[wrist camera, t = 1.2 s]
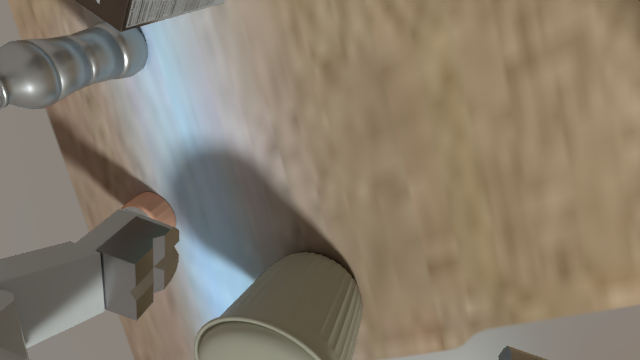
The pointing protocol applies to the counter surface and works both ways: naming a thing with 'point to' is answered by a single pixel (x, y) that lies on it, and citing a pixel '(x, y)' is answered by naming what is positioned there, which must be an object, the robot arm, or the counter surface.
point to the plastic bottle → (67, 64)
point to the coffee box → (142, 10)
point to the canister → (288, 315)
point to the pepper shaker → (152, 207)
